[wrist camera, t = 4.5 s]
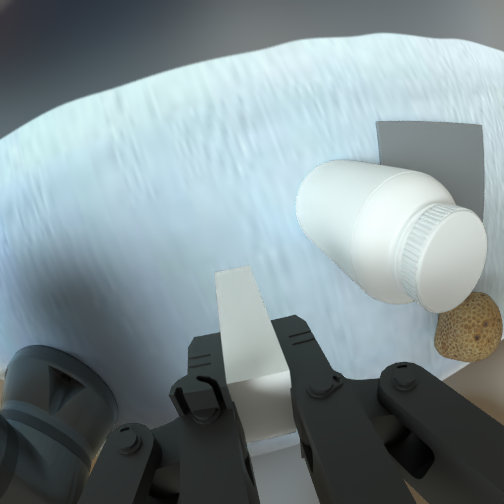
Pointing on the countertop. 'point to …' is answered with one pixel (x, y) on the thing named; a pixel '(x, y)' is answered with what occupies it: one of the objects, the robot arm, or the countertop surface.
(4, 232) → the countertop surface
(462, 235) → the pill bottle
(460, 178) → the mat
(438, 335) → the natural sponge
